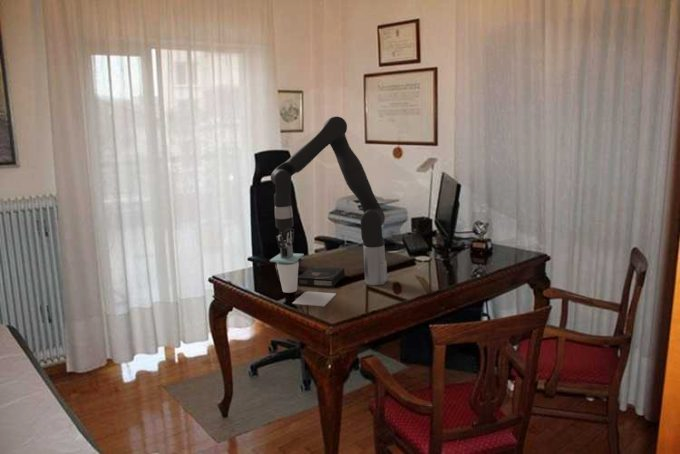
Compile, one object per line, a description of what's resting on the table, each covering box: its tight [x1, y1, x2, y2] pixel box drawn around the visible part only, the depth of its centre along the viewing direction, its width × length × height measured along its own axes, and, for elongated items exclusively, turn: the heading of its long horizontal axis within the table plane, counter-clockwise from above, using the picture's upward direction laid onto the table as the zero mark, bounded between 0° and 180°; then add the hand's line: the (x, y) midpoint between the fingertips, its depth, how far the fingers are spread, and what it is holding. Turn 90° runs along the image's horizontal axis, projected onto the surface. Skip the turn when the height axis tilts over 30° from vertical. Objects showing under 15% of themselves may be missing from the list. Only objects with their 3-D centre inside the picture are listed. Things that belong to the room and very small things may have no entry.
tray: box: [291, 290, 337, 307], centre depth 236 cm, size 14×14×1 cm
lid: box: [269, 244, 305, 263], centre depth 244 cm, size 11×11×6 cm
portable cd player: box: [297, 265, 346, 288], centre depth 259 cm, size 16×17×4 cm
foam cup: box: [277, 259, 300, 294], centre depth 247 cm, size 10×9×13 cm
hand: (287, 254), depth 245 cm, fingers closed on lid, 3 cm apart
